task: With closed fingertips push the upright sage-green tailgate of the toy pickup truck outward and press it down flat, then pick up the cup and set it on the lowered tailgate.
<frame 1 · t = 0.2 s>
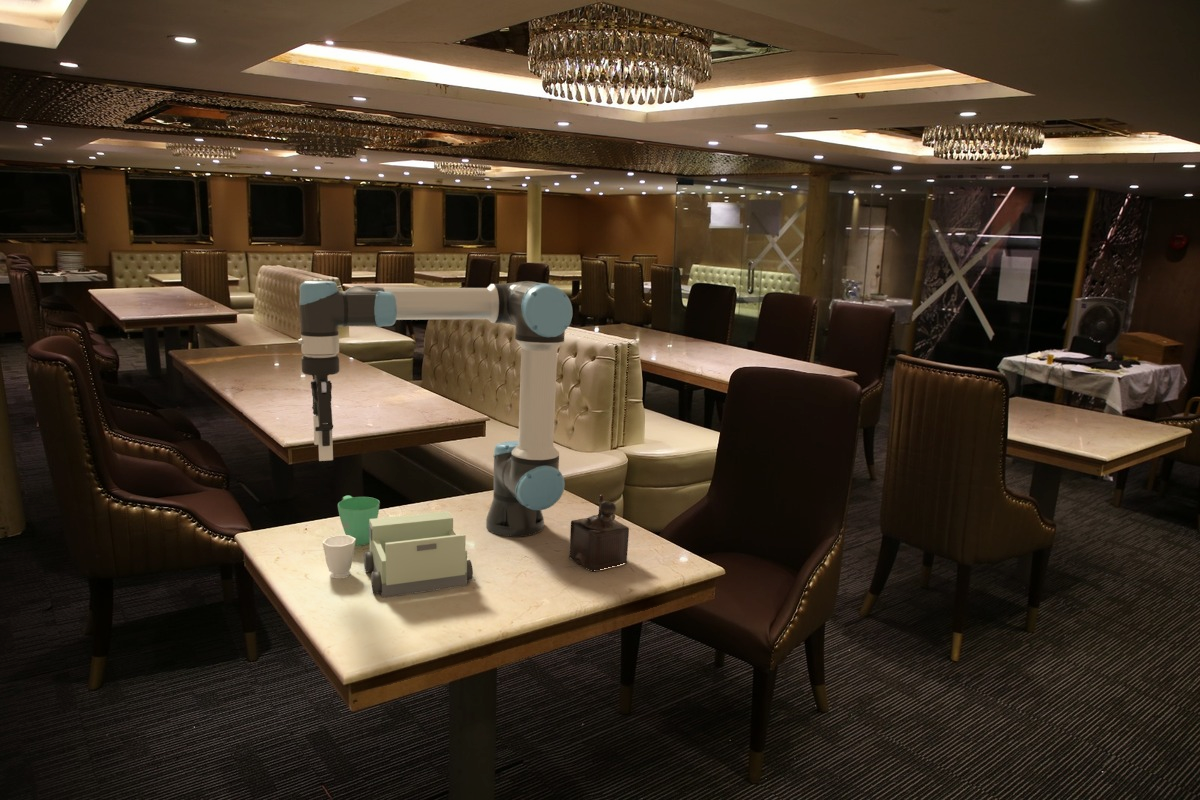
hand: (323, 452, 170), 28 cm above the table, fingers open, 13 cm apart
cup: (339, 572, 175), on the table
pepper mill: (602, 565, 185), on the table
pickup truck: (419, 578, 173), on the table
mug: (356, 539, 194), on the table
tailgate: (426, 559, 165), point 8 cm above the table, hinge at 0.0°
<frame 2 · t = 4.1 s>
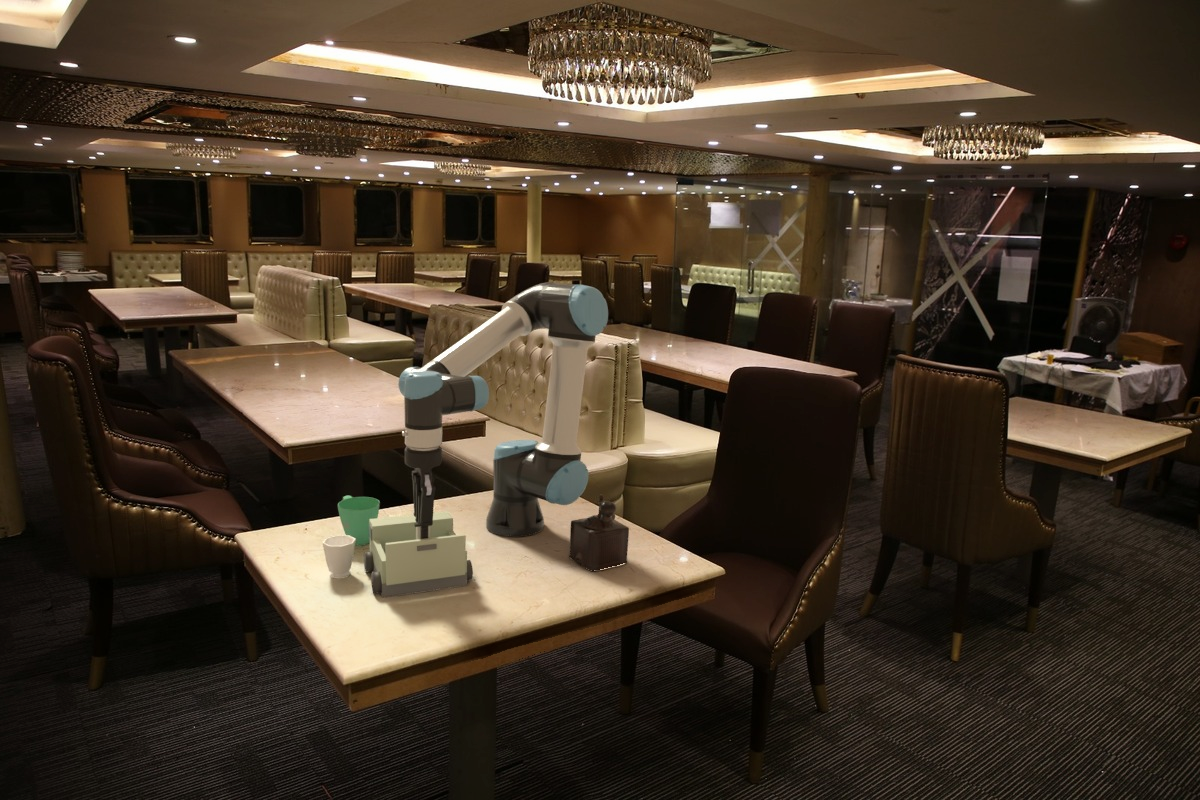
hand: (423, 553, 167), 8 cm above the table, fingers closed
tailgate: (426, 559, 165), point 8 cm above the table, hinge at 0.9°, touching gripper
everything else where it was.
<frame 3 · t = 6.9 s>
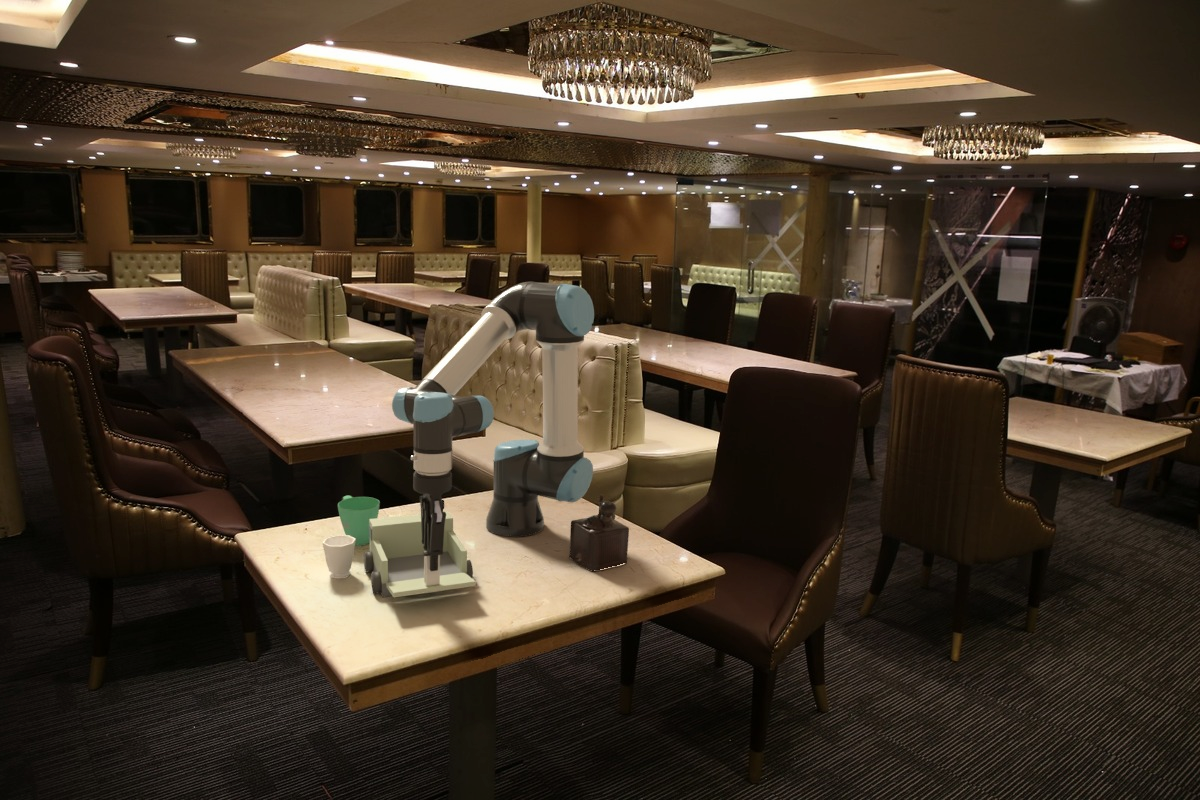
hand: (431, 582, 160), 5 cm above the table, fingers closed
tailgate: (430, 585, 162), point 4 cm above the table, hinge at 79.0°, touching gripper
everything else where it was.
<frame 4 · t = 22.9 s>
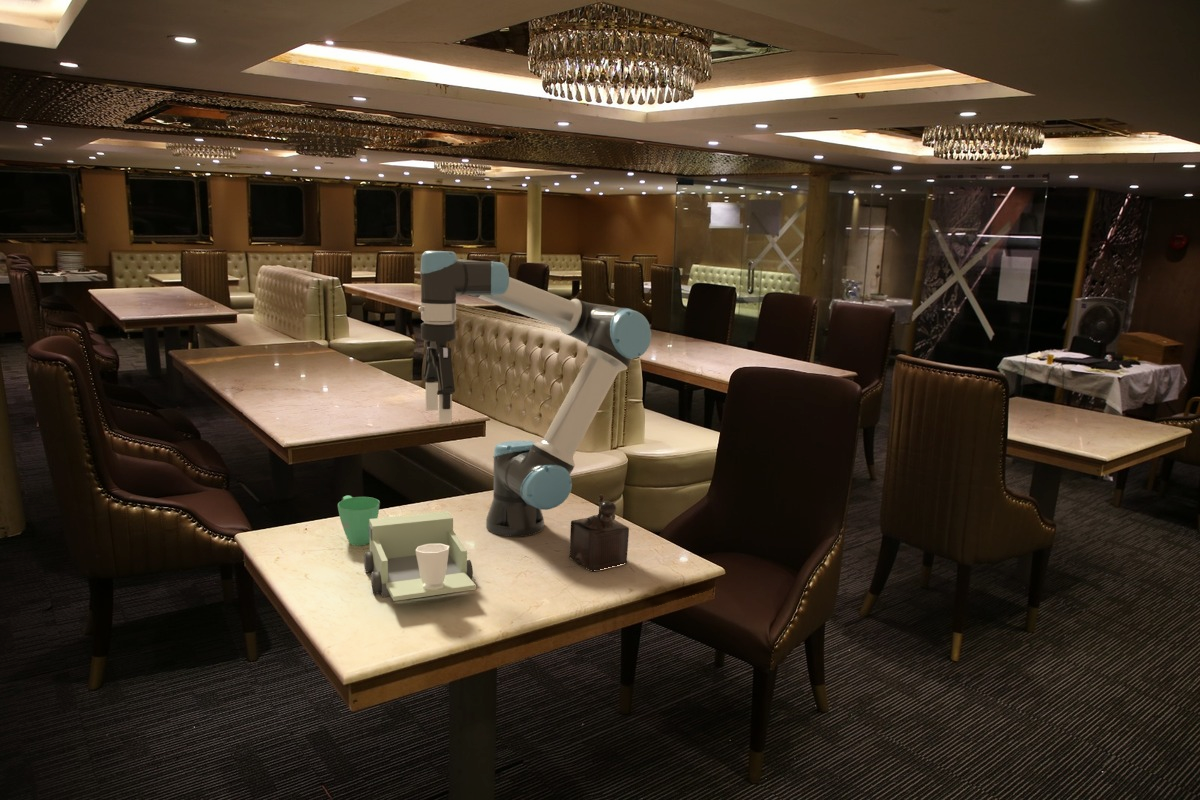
hand: (438, 416, 176), 35 cm above the table, fingers open, 13 cm apart
cup: (431, 585, 162), point 4 cm above the table, touching tailgate
tailgate: (430, 586, 162), point 3 cm above the table, hinge at 83.7°, touching cup
everything else where it was.
at the end: tailgate at +84° (first picture: +0°); cup tilted 6° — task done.
